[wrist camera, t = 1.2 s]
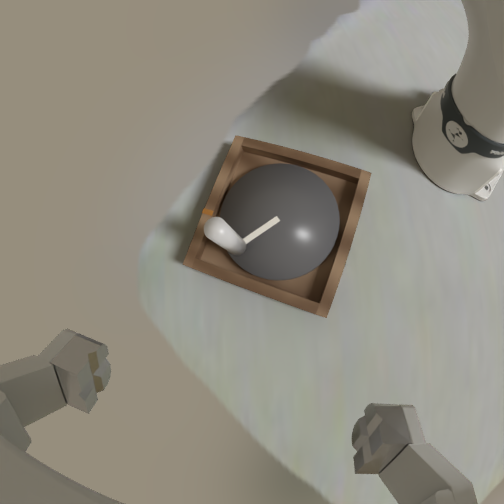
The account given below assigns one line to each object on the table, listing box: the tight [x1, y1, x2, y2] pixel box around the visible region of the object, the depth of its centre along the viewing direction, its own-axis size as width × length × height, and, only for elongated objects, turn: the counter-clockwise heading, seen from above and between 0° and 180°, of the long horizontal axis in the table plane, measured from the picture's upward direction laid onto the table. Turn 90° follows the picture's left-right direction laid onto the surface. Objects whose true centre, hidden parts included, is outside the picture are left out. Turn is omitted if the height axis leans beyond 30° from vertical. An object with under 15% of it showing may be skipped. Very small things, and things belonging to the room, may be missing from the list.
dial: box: [204, 163, 340, 281], centre depth 36 cm, size 16×16×11 cm
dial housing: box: [183, 136, 371, 318], centre depth 41 cm, size 20×20×4 cm
